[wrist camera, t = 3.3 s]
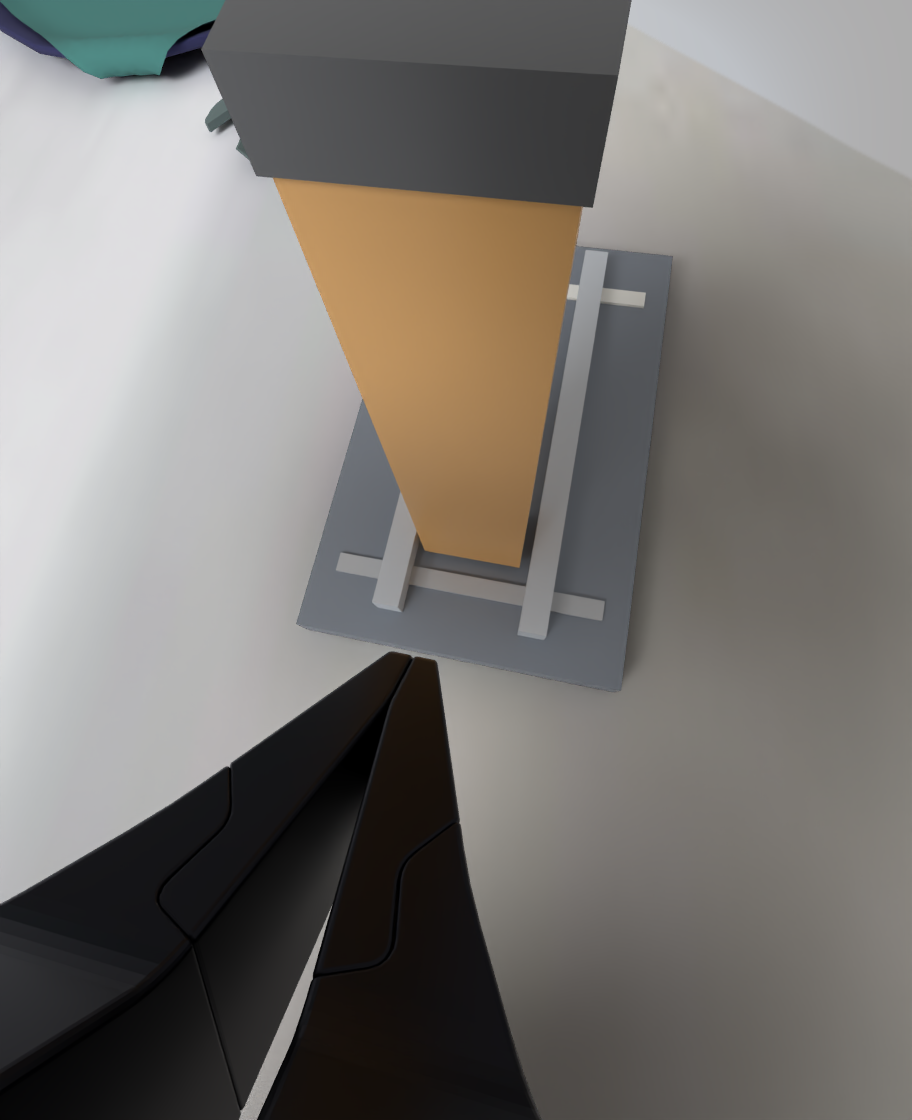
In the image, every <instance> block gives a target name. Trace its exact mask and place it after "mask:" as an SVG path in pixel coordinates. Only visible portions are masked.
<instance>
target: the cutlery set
mask: <svg viewBox="0 0 912 1120" xmlns="http://www.w3.org/2000/svg"><path fill="white" fill-rule="evenodd" d="M224 2H225V0H0V30H1V31H2V32H3V33H5V34H7V35H9V36H10V37H12V38H14V39H16V40H17V41H19V42H21V43H22V44H24V45H26V46H28V47H29V48H31V49H33V50H35V51H36V52H38V53H40V54H45V55H50V56H56V57H61V58H67V59H68V60H70V61H71V62H72V63H73V64H74V65H76V66H77V67H78V68H79V69H81V70H82V71H83V72H85V73H88V74H90V75H93V76H95V77H98V78H100V79H103V78H109V77H114V76H119V77H121V76H128V75H150V74H156V75H160V73H161V69H162V66H163V63H164V60H165V58H166V57H170V56H173V55H177V54H180V53H184V52H187V51H191V50H195V49H198V48H202V47H203V45H204V43H205V41H206V39H207V36H208V34H209V32H210V30H211V28H212V26H213V24H214V22H215V20H216V18H217V16H218V14H219V12H220V10H221V8H222V6H223V4H224ZM229 119H231V116H230V114H229V112H228V110H227V107H226V105H225V103H224V100H223V99H222V100H220V101H219V102H218V103H217V104H216V105H215V106H214V107H213V108H212V109H211V111H210V112H209V114H208V116H207V117H206V119H205V123H206V125H207V128H208V130H209V131H210V132H212V131H213V130H215V129H216V128H218V127H219V126H221V125H222V124H224V123H225V122H226V121H228V120H229ZM236 149H237V150H238V151H239V152H240V153H241V154H243V155H244V156H245V157H246V158H247V159H249V158H248V155H247V153H246V151H245V149H244V146H243V144H242V142H241V139H240V140H239V143H238V145H237V148H236Z"/></svg>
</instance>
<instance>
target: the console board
mask: <svg viewBox="0 0 912 1120" xmlns="http://www.w3.org/2000/svg"><path fill="white" fill-rule="evenodd" d="M672 258H673V256H666V255H657V254H647V253H637V252H627V251H618V250H608V249H598V248H589V247H579V246H576V249H575V255H574V261H573V266H572V272H571V278H570V283H569V289H568V295H567V301H566V306H565V312H564V318H563V323H562V329H561V335H560V341H559V346H558V352H557V358H556V364H555V369H554V375H553V381H552V386H551V392H550V398H549V404H548V409H547V415H546V421H545V427H544V432H543V438H542V444H541V449H540V455H539V461H538V467H537V472H536V478H535V484H534V490H533V495H532V501H531V507H530V512H529V518H528V523H527V529H526V534H525V540H524V545H523V551H522V556H521V562H520V567H519V568H518V567H512V566H506V565H501V564H495V563H490V562H484V561H479V560H473V559H468V558H462V557H457V556H451V555H446V554H440V553H434V552H429V551H425V550H424V548H423V545H422V543H421V540H420V538H419V535H418V533H417V531H416V528H415V526H414V523H413V521H412V518H411V516H410V513H409V511H408V508H407V506H406V504H405V501H404V499H403V496H402V494H401V491H400V489H399V486H398V484H397V481H396V479H395V477H394V474H393V472H392V469H391V467H390V464H389V462H388V459H387V457H386V454H385V452H384V450H383V447H382V445H381V442H380V440H379V437H378V435H377V432H376V430H375V427H374V425H373V423H372V420H371V418H370V415H369V413H368V410H367V408H366V405H365V403H364V400H363V399H362V402H361V406H360V409H359V412H358V416H357V419H356V423H355V426H354V429H353V433H352V436H351V440H350V443H349V446H348V450H347V453H346V457H345V460H344V463H343V467H342V470H341V474H340V477H339V480H338V484H337V487H336V491H335V494H334V497H333V501H332V504H331V507H330V511H329V514H328V518H327V521H326V524H325V528H324V531H323V535H322V538H321V541H320V545H319V548H318V552H317V555H316V558H315V562H314V565H313V569H312V572H311V575H310V579H309V582H308V586H307V589H306V592H305V596H304V599H303V603H302V606H301V609H300V613H299V616H298V619H297V623H296V624H297V625H299V626H301V627H304V628H306V629H308V630H313V631H318V632H323V633H328V634H333V635H338V636H343V637H347V638H352V639H357V640H362V641H367V642H372V643H377V644H382V645H386V646H391V647H396V648H401V649H406V650H411V651H416V652H421V653H425V654H430V655H435V656H440V657H445V658H450V659H455V660H460V661H464V662H469V663H474V664H479V665H484V666H489V667H494V668H498V669H503V670H508V671H513V672H518V673H523V674H528V675H533V676H537V677H542V678H547V679H552V680H557V681H562V682H567V683H572V684H576V685H581V686H586V687H591V688H596V689H601V690H606V691H611V692H616V691H621V687H622V678H623V670H624V662H625V653H626V645H627V636H628V628H629V620H630V611H631V603H632V594H633V586H634V577H635V569H636V561H637V552H638V544H639V535H640V527H641V519H642V510H643V502H644V493H645V485H646V476H647V468H648V460H649V451H650V443H651V434H652V426H653V418H654V409H655V401H656V392H657V384H658V375H659V367H660V359H661V350H662V342H663V333H664V325H665V317H666V308H667V300H668V291H669V283H670V274H671V266H672Z"/></svg>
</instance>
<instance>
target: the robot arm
mask: <svg viewBox="0 0 912 1120" xmlns="http://www.w3.org/2000/svg"><path fill="white" fill-rule="evenodd" d="M459 822H460V818H459V811H458V804H457V797H456V790H455V783H454V776H453V769H452V762H451V755H450V748H449V741H448V734H447V727H446V720H445V713H444V706H443V699H442V692H441V685H440V678H439V671H438V665H437V662H436V661H435V660H432V659H427V658H422V657H414V658H412V656H411V655H407V654H403V653H398V652H388V653H387V654H385V655H384V656H382V657H381V658H379V659H378V660H377V661H375V662H374V663H372V664H371V665H370V666H368V667H367V668H365V669H364V670H362V671H361V672H360V673H358V674H357V675H355V676H354V677H352V678H351V679H350V680H348V681H347V682H345V683H344V684H343V685H341V686H340V687H338V688H337V689H335V690H334V691H333V692H331V693H330V694H328V695H327V696H325V697H324V698H323V699H321V700H320V701H318V702H317V703H316V704H314V705H313V706H311V707H310V708H308V709H307V710H306V711H304V712H303V713H301V714H300V715H298V716H297V717H296V718H294V719H293V720H291V721H290V722H289V723H287V724H286V725H284V726H283V727H281V728H280V729H279V730H277V731H276V732H274V733H273V734H272V735H270V736H269V737H267V738H266V739H264V740H263V741H262V742H260V743H259V744H257V745H256V746H254V747H253V748H252V749H250V750H249V751H247V752H246V753H245V754H243V755H242V756H240V757H239V758H237V759H236V760H235V761H233V762H232V763H231V764H230V768H229V767H224V768H223V769H221V770H220V771H219V772H217V773H216V774H214V775H213V776H211V777H210V778H209V779H207V780H206V781H204V782H203V783H201V784H200V785H198V786H197V787H195V788H194V789H192V790H191V791H189V792H188V793H186V794H185V795H183V796H182V797H181V798H179V799H178V800H176V801H175V802H173V803H172V804H170V805H168V806H167V807H165V808H164V809H162V810H160V811H159V812H157V813H155V814H154V815H152V816H150V817H149V818H147V819H146V820H144V821H142V822H141V823H139V824H137V825H136V826H134V827H132V828H131V829H129V830H128V831H126V832H124V833H122V834H121V835H119V836H117V837H116V838H114V839H112V840H110V841H109V842H107V843H105V844H104V845H102V846H100V847H98V848H97V849H95V850H93V851H92V852H90V853H88V854H86V855H85V856H83V857H81V858H80V859H78V860H76V861H75V862H73V863H71V864H69V865H68V866H66V867H64V868H63V869H61V870H59V871H57V872H56V873H54V874H52V875H51V876H49V877H47V878H45V879H44V880H42V881H40V882H39V883H37V884H35V885H33V886H32V887H30V888H28V889H27V890H25V891H23V892H21V893H19V894H18V895H16V896H14V897H12V898H10V899H9V900H7V901H5V902H3V903H1V904H0V1120H239V1118H240V1115H241V1112H240V1110H242V1109H243V1108H244V1106H245V1104H246V1101H247V1099H248V1097H249V1094H250V1092H251V1090H252V1088H253V1085H254V1083H255V1081H256V1078H257V1076H258V1074H259V1072H260V1069H261V1067H262V1065H263V1062H264V1060H265V1058H266V1055H267V1053H268V1051H269V1049H270V1046H271V1044H272V1042H273V1039H274V1037H275V1035H276V1033H277V1030H278V1028H279V1026H280V1023H281V1021H282V1019H283V1016H284V1014H285V1012H286V1010H287V1007H288V1005H289V1003H290V1000H291V998H292V996H293V994H294V991H295V989H296V987H297V984H298V982H299V980H300V977H301V975H302V973H303V971H304V968H305V966H306V964H307V961H308V959H309V957H310V955H311V952H312V950H313V948H314V945H315V943H316V941H317V938H318V936H319V934H320V932H321V929H322V927H323V925H324V922H325V920H326V918H327V916H328V913H329V911H330V909H331V912H330V915H329V919H328V922H327V926H326V930H325V933H324V937H323V940H322V944H321V947H320V951H319V954H318V958H317V962H316V965H315V969H314V972H313V980H312V981H311V984H310V987H309V991H308V994H307V997H306V1001H305V1004H304V1007H303V1010H302V1013H301V1016H300V1019H299V1022H298V1025H297V1028H296V1031H295V1034H294V1037H293V1040H292V1042H291V1044H290V1047H289V1049H288V1051H287V1054H286V1056H285V1058H284V1060H283V1063H282V1065H281V1067H280V1069H279V1071H278V1074H277V1076H276V1078H275V1080H274V1083H273V1085H272V1087H271V1089H270V1092H269V1094H268V1096H267V1098H266V1101H265V1103H264V1105H263V1107H262V1109H261V1112H260V1114H259V1116H258V1118H257V1120H542V1119H541V1117H540V1115H539V1113H538V1110H537V1108H536V1105H535V1103H534V1100H533V1097H532V1095H531V1092H530V1089H529V1087H528V1084H527V1081H526V1078H525V1076H524V1073H523V1069H522V1066H521V1063H520V1060H519V1057H518V1054H517V1051H516V1048H515V1045H514V1041H513V1038H512V1035H511V1031H510V1028H509V1024H508V1021H507V1017H506V1014H505V1010H504V1007H503V1003H502V1000H501V996H500V992H499V989H498V985H497V982H496V978H495V975H494V971H493V968H492V964H491V961H490V957H489V954H488V950H487V946H486V943H485V939H484V936H483V932H482V929H481V925H480V921H479V917H478V913H477V909H476V905H475V901H474V897H473V893H472V888H471V884H470V879H469V873H468V868H467V862H466V857H465V851H464V845H463V838H462V831H461V825H460V824H459ZM332 904H333V905H332ZM331 906H332V908H331Z"/></svg>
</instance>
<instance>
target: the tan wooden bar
mask: <svg viewBox="0 0 912 1120" xmlns="http://www.w3.org/2000/svg"><path fill="white" fill-rule="evenodd" d="M630 5H631V0H225V2H224V4H223V6H222V8H221V10H220V12H219V14H218V16H217V18H216V20H215V22H214V24H213V26H212V28H211V30H210V32H209V34H208V36H207V39H206V41H205V43H204V45H203V47H202V49H201V50H202V52H203V55H204V57H205V59H206V61H207V64H208V66H209V68H210V71H211V73H212V75H213V78H214V80H215V82H216V84H217V87H218V89H219V91H220V94H221V96H222V98H223V100H224V103H225V105H226V107H227V110H228V112H229V114H230V116H231V119H232V121H233V123H234V126H235V128H236V130H237V133H238V135H239V137H240V139H241V142H242V144H243V146H244V149H245V151H246V153H247V155H248V158H249V160H250V162H251V165H252V167H253V169H254V172H255V174H256V176H261V177H272V178H273V179H274V182H275V184H276V187H277V189H278V192H279V194H280V197H281V199H282V202H283V204H284V206H285V209H286V211H287V214H288V216H289V219H290V221H291V224H292V226H293V229H294V231H295V233H296V236H297V238H298V241H299V243H300V246H301V248H302V251H303V253H304V256H305V258H306V260H307V263H308V265H309V268H310V270H311V273H312V275H313V278H314V280H315V283H316V285H317V287H318V290H319V292H320V295H321V297H322V300H323V302H324V305H325V307H326V310H327V312H328V314H329V317H330V319H331V322H332V324H333V327H334V329H335V332H336V334H337V337H338V339H339V342H340V344H341V346H342V349H343V351H344V354H345V356H346V359H347V361H348V364H349V366H350V369H351V371H352V373H353V376H354V378H355V381H356V383H357V386H358V388H359V391H360V393H361V396H362V398H363V400H364V403H365V405H366V408H367V410H368V413H369V415H370V418H371V420H372V423H373V425H374V427H375V430H376V432H377V435H378V437H379V440H380V442H381V445H382V447H383V450H384V452H385V454H386V457H387V459H388V462H389V464H390V467H391V469H392V472H393V474H394V477H395V479H396V481H397V484H398V486H399V489H400V491H401V494H402V496H403V499H404V501H405V504H406V506H407V508H408V511H409V513H410V516H411V518H412V521H413V523H414V526H415V528H416V531H417V533H418V535H419V538H420V540H421V543H422V545H423V548H424V550H425V551H429V552H434V553H440V554H446V555H451V556H457V557H462V558H468V559H473V560H479V561H484V562H490V563H495V564H501V565H506V566H512V567H518V568H519V567H520V562H521V556H522V551H523V545H524V540H525V534H526V529H527V523H528V518H529V512H530V507H531V501H532V495H533V490H534V484H535V478H536V472H537V467H538V461H539V455H540V449H541V444H542V438H543V432H544V427H545V421H546V415H547V409H548V404H549V398H550V392H551V386H552V381H553V375H554V369H555V364H556V358H557V352H558V346H559V341H560V335H561V329H562V323H563V318H564V312H565V306H566V301H567V295H568V289H569V283H570V278H571V272H572V266H573V261H574V255H575V249H576V243H577V238H578V232H579V226H580V220H581V215H582V209H583V207H592V208H593V203H594V198H595V193H596V188H597V183H598V178H599V172H600V167H601V162H602V157H603V152H604V147H605V141H606V136H607V131H608V126H609V121H610V116H611V111H612V105H613V100H614V95H615V90H616V85H617V80H618V74H619V69H620V63H621V57H622V52H623V46H624V40H625V34H626V29H627V23H628V17H629V11H630Z"/></svg>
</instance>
